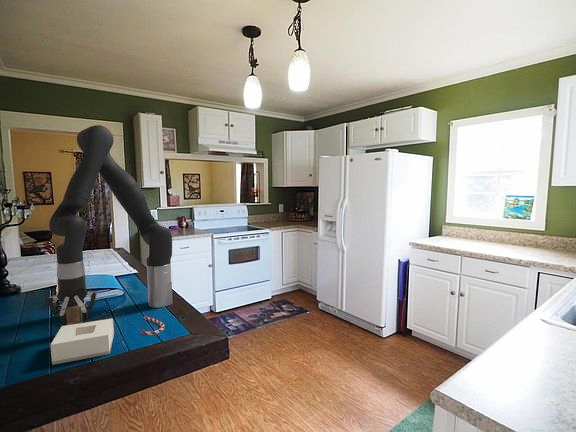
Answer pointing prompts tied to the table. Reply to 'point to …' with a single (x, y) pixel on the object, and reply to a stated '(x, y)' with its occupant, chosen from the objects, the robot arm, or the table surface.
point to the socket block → (82, 341)
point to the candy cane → (153, 322)
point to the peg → (74, 314)
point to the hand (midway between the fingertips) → (75, 323)
